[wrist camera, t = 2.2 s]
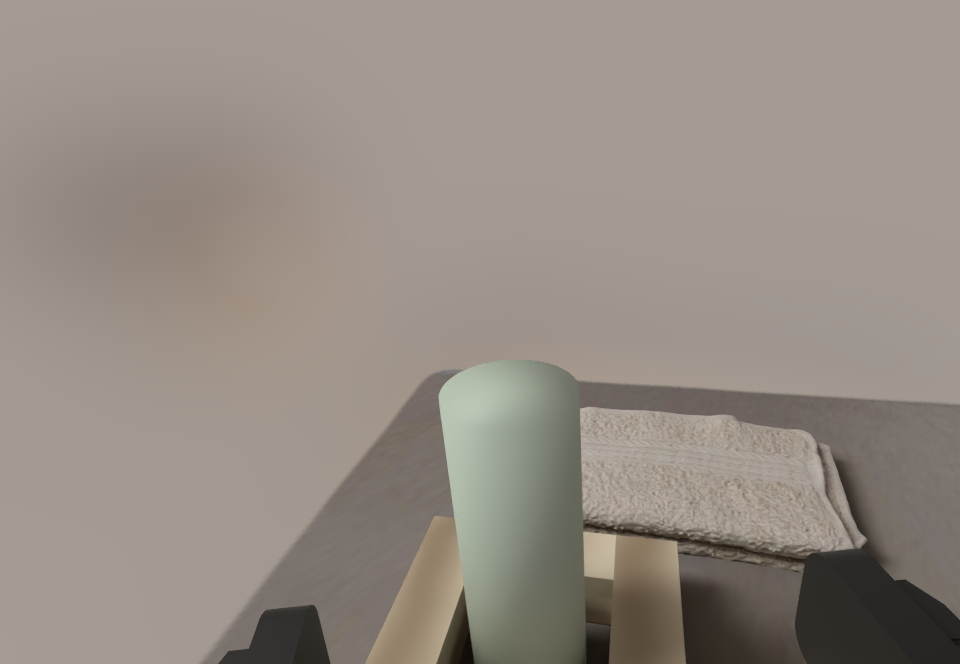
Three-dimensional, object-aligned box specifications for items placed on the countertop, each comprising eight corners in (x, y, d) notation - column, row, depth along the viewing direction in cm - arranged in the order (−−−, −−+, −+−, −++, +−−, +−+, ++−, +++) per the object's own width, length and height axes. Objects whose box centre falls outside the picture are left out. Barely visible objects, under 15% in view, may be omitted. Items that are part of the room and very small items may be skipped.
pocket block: (674, 585, 30) (676, 541, 29) (693, 897, 19) (699, 844, 18) (440, 556, 34) (434, 515, 33) (337, 804, 22) (322, 755, 21)
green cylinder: (591, 640, 28) (585, 361, 22) (581, 746, 24) (571, 433, 18) (491, 624, 29) (461, 358, 23) (464, 722, 25) (418, 424, 19)
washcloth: (872, 595, 29) (883, 548, 28) (528, 542, 35) (525, 501, 34) (821, 458, 40) (828, 419, 39) (562, 434, 45) (561, 399, 44)
